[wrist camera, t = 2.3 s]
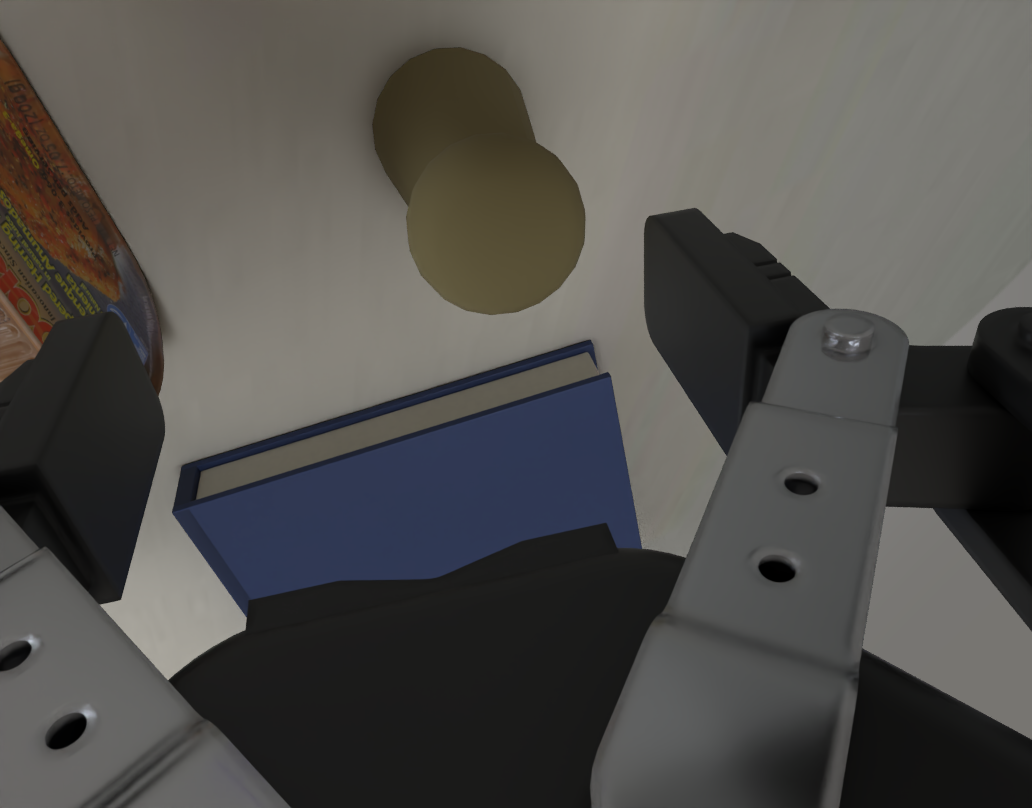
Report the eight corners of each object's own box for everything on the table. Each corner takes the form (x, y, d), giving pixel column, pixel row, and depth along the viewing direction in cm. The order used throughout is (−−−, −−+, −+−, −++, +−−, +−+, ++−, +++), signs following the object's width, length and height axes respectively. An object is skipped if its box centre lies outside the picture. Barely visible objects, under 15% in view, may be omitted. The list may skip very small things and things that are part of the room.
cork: (425, 233, 32) (467, 380, 24) (340, 103, 29) (351, 219, 20) (553, 157, 32) (645, 280, 23) (482, 13, 28) (558, 94, 19)
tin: (182, 335, 33) (148, 463, 26) (109, 358, 33) (56, 492, 26) (-61, -72, 24) (-209, -36, 17) (-163, -42, 24) (-352, 7, 17)
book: (297, 640, 45) (296, 688, 42) (181, 465, 36) (171, 512, 34) (628, 534, 46) (647, 576, 43) (590, 339, 37) (611, 376, 35)
